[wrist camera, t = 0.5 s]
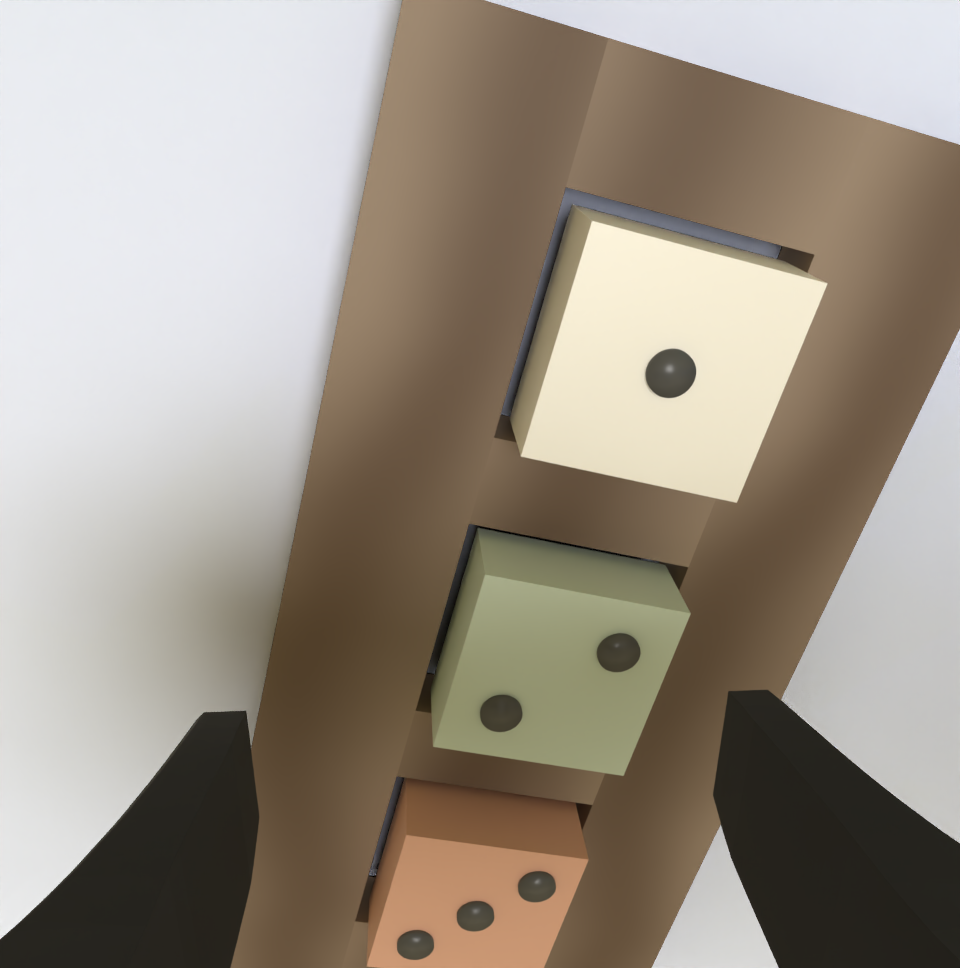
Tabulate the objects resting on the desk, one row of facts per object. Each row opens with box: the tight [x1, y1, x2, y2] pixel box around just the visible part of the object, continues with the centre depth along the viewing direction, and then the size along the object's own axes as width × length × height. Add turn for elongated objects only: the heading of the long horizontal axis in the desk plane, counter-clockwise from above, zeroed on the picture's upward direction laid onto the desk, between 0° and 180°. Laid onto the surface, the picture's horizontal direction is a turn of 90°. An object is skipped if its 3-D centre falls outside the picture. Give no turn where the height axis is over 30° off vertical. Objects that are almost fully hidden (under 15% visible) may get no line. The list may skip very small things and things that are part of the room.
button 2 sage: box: [431, 528, 691, 776], centre depth 20 cm, size 4×4×2 cm
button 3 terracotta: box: [367, 778, 589, 968], centre depth 23 cm, size 4×4×2 cm
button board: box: [231, 0, 960, 968], centre depth 21 cm, size 12×24×2 cm, turn 166°
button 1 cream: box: [509, 204, 828, 503], centre depth 17 cm, size 4×4×2 cm
